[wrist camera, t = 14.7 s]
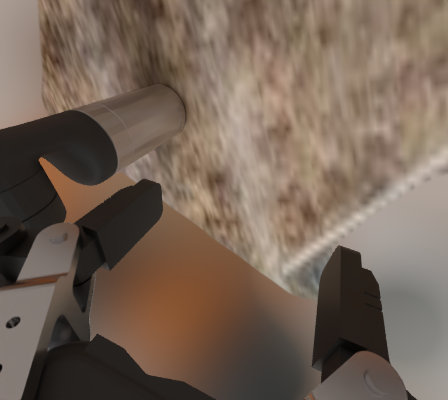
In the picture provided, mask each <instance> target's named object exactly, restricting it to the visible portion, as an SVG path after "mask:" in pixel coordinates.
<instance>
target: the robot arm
mask: <svg viewBox="0 0 448 400" xmlns="http://www.w3.org/2000/svg"><path fill="white" fill-rule="evenodd" d="M185 120H186V114H185V109H184V105H183V103H182V101H181V99H180V98H179V96H178V95H177V94H176V93H175V92H174V91H173V90H172V89H171V88H169V87H167V86H165V85H161V84H155V85H151V86H148V87H145V88H141V89H138V90H134V91H131V92H128V93H124V94H121V95H117V96H114V97H111V98H107V99H104V100H101V101H97V102H94V103H91V104H88V105H84V106H81V107H78V108H74V109H71V110H68V111H64V112H61V113H58V114H55V115H51V116H48V117H44V118H41V119H38V120H34V121H31V122H27V123H24V124H20V125H17V126H13V127H9V128H5V129H1V130H0V400H216V399H214V398H212V397H210V396H208V395H207V394H205V393H203V392H201V391H199V390H198V389H196V388H194V387H192V386H190V385H189V384H187V383H185V382H182V381H177V380H172V379H166V378H161V377H156V376H150V375H148V374H146V373H145V372H144V371H143V370H142V369H141V368H140V367H139V365H138V364H137V363H136V362H135V361H134V360H133V358H131V356H130V355H129V354H128V353H127V352H126V350H125V349H124V348H122V347H120V346H119V345H117V344H115V343H113V342H111V341H110V340H108V339H106V338H104V337H102V336H101V335H99V334H97V335H96V336H95V337H94V338H93V340H92V341H90V335H91V334H90V324H89V316H90V309H91V303H92V297H93V291H94V285H95V279H96V272H95V271H96V270H97V269H98V268H100V267H102V268H105V269H107V270H109V271H110V270H111V269H112V268H113V267H114V266H115V265H116V264H117V263H118V262H119V261H120V260H121V259H122V258H123V257H124V256H125V255H126V254H127V253H128V252H129V251H130V250H131V249H132V247H133V246H134V245H135V244H136V243H137V242H138V241H139V240H140V239H141V238H142V237H143V236H144V235H145V234H146V233H147V232H148V231H149V230H150V229H151V228H152V227H153V225H155V224H156V223H157V221H158V220H159V219H160V217H161V215H162V212H163V205H162V191H161V185H160V184H159V183H156V182H153V181H150V180H147V179H142V180H141V181H139V182H138V183H137V184H136V185H134V186H129V187H126V188H124V189H121V190H119V191H118V192H116V193H115V194H114V195H112V196H111V198H108V199H107V200H105V201H104V203H101V204H100V205H98V206H97V207H96V208H94V209H93V210H91V211H90V212H89V213H87V214H86V215H85V216H83V217H82V218H80V219H79V220H78V221H76V222H75V223H63V222H64V220H65V218H66V209H65V206H64V204H63V202H62V200H61V199H60V197H59V195H58V193H57V192H56V190H55V188H54V186H53V184H52V183H51V181H50V179H49V178H48V176H47V174H46V173H45V171H44V169H43V167H42V166H41V164H40V162H39V158H40V157H43V158H44V159H46V160H47V161H49V162H50V163H51V164H52V165H54V166H55V167H56V168H57V169H58V170H59V171H61V172H62V173H63V174H64V175H66V176H67V177H69V178H70V179H72V180H74V181H75V182H77V183H80V184H83V185H89V186H92V185H97V184H100V183H102V182H104V181H105V180H107V179H108V178H110V177H111V176H113V175H114V174H116V173H117V172H119V171H121V170H122V169H124V168H126V167H127V166H128V165H130V164H132V163H133V162H135V161H136V160H138V159H139V158H141V157H143V156H144V155H146V154H147V153H149V152H150V151H152V150H154V149H155V148H157V147H158V146H160V145H161V144H163V143H165V142H166V141H168V140H169V139H171V138H172V137H174V136H176V135H177V134H179V133H180V132H181V131H182V129H183V128H184V125H185ZM381 311H382V305H381V301H380V291H379V284H378V283H377V281H376V279H375V277H374V275H373V274H372V272H371V271H370V270H367V269H364V268H362V265H361V254H360V253H359V252H357V251H354V250H351V249H348V248H345V247H343V246H337V248H336V249H335V251H334V252H333V254H332V256H331V258H330V259H329V261H328V263H327V264H326V266H325V268H324V270H323V272H322V275H321V278H320V283H319V293H318V304H317V315H316V325H315V337H314V348H313V358H312V367H313V368H315V369H317V370H319V371H321V372H322V374H321V384H320V385H319V386H318V387H317V388H316V389H314V391H312V392H311V393H310V394H309V395H308V396H307V397H305V398H304V399H303V400H417V399H416V398H414V397H413V396H412V395H411V394H410V393H409V392H408V391H407V390H406V388H405V385H404V383H403V381H402V379H401V378H400V376H399V374H398V373H397V371H396V370H395V369H394V368H393V367H392V366H391V364H390V361H389V356H388V348H387V341H386V334H385V327H384V319H383V313H382V312H381Z"/></svg>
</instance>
